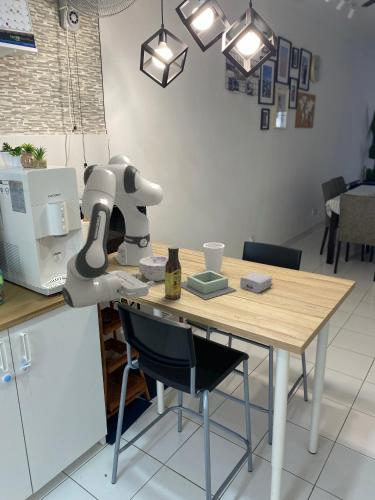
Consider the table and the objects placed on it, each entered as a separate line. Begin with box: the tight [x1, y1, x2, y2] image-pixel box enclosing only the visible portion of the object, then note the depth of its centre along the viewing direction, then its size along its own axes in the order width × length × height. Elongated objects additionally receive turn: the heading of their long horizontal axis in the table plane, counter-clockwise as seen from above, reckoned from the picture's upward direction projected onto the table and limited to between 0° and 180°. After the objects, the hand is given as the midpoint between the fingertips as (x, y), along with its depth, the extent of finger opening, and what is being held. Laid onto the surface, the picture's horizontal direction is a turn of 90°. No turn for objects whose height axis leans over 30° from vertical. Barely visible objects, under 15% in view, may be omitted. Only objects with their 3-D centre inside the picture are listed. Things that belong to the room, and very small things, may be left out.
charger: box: [239, 272, 273, 294], centre depth 160 cm, size 5×9×15 cm
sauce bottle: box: [164, 245, 182, 300], centre depth 147 cm, size 6×6×20 cm
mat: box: [181, 280, 237, 301], centre depth 158 cm, size 20×16×1 cm
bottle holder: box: [186, 270, 229, 294], centre depth 158 cm, size 11×12×4 cm
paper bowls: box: [138, 255, 169, 282], centre depth 169 cm, size 15×15×8 cm
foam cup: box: [202, 242, 225, 275], centre depth 174 cm, size 10×9×13 cm
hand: (146, 279), depth 140 cm, fingers open, 8 cm apart
